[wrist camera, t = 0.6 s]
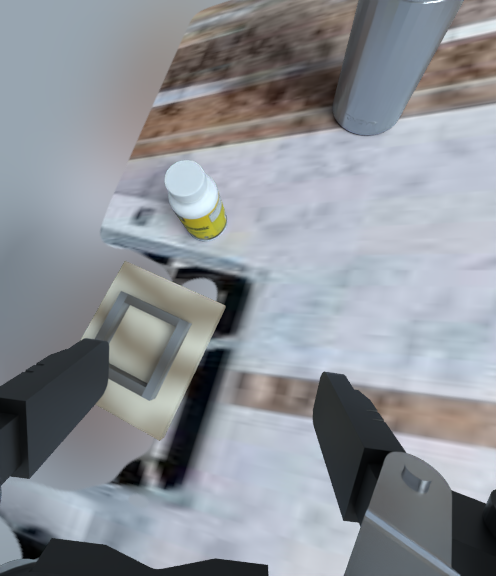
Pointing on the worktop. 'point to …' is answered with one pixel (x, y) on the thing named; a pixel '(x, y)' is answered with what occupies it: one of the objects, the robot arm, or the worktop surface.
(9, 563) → the teacup
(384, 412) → the worktop surface
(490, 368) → the worktop surface
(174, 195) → the supplement bottle
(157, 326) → the seat board
